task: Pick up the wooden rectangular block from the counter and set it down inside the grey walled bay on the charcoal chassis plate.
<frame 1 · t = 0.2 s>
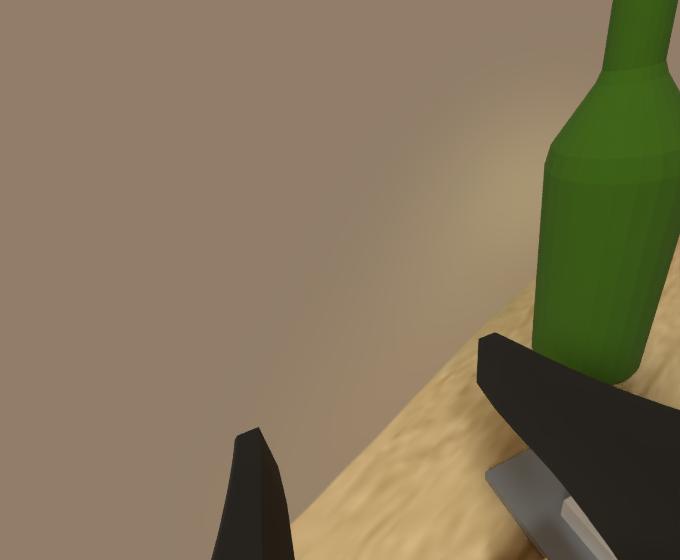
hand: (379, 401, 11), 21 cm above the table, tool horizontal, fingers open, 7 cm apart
wine bottle: (581, 353, 36), on the table
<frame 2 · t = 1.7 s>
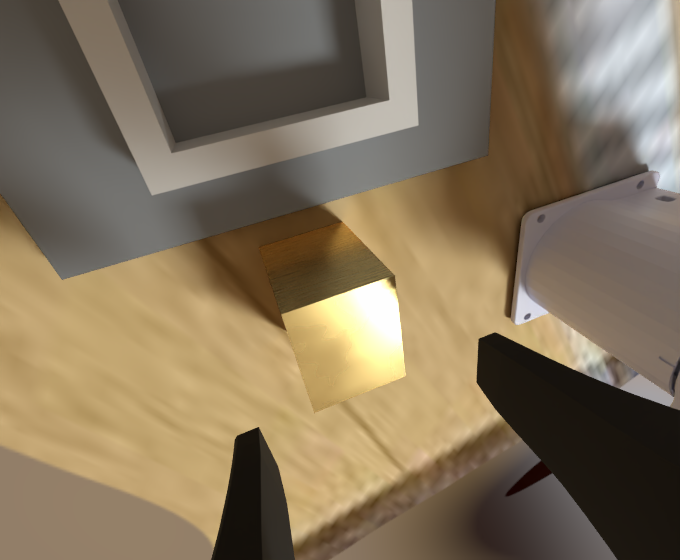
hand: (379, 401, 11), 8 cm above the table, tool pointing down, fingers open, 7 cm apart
chassis: (241, 1, 12), on the table
wooden rectangular block: (313, 279, 18), on the table
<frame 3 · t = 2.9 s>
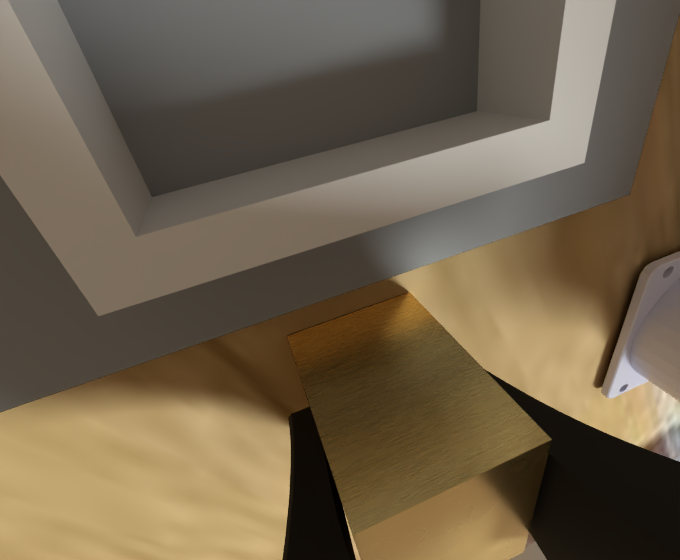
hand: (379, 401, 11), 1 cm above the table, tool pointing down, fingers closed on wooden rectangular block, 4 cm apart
wooden rectangular block: (361, 370, 12), on the table, touching gripper
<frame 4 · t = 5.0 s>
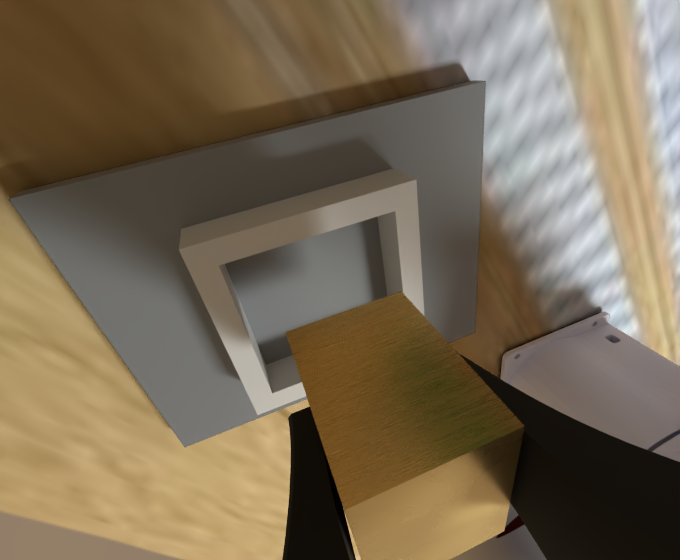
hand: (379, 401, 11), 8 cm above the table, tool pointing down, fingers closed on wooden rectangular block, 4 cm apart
chassis: (311, 277, 18), on the table
wooden rectangular block: (356, 364, 13), point 6 cm above the table, touching gripper
when the fingers open (4 cm above the table, at t = 6.0 s): wooden rectangular block drops 1 cm, resting on chassis.
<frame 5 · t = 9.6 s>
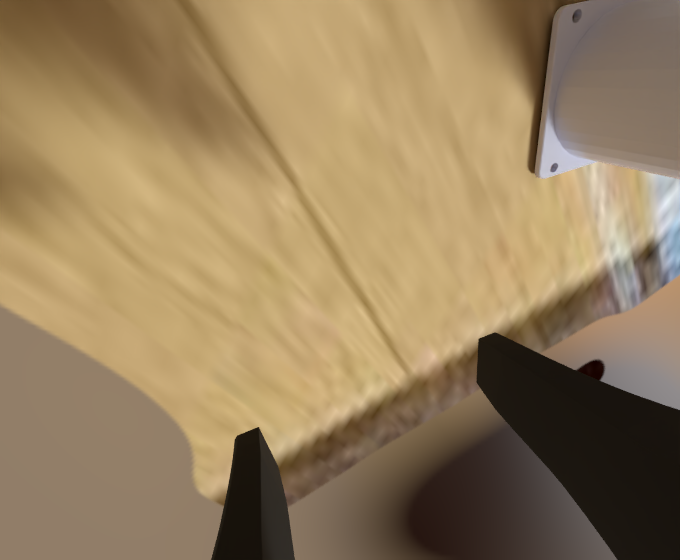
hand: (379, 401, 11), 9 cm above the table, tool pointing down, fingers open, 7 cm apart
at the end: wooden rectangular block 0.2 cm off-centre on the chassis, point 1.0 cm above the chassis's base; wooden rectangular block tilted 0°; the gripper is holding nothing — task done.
